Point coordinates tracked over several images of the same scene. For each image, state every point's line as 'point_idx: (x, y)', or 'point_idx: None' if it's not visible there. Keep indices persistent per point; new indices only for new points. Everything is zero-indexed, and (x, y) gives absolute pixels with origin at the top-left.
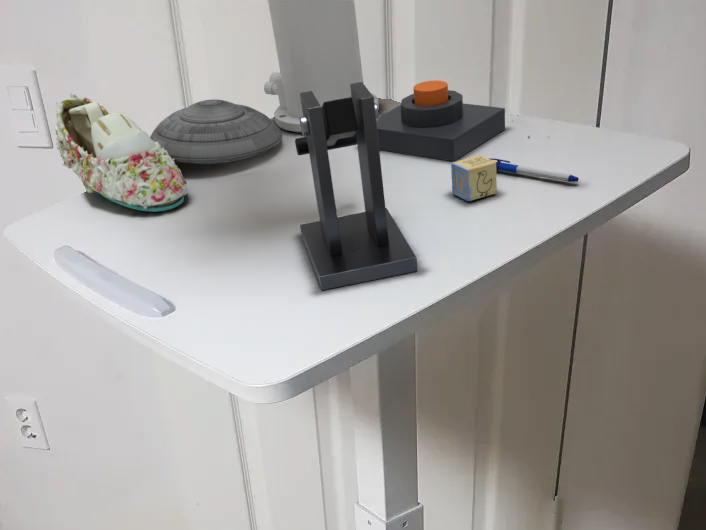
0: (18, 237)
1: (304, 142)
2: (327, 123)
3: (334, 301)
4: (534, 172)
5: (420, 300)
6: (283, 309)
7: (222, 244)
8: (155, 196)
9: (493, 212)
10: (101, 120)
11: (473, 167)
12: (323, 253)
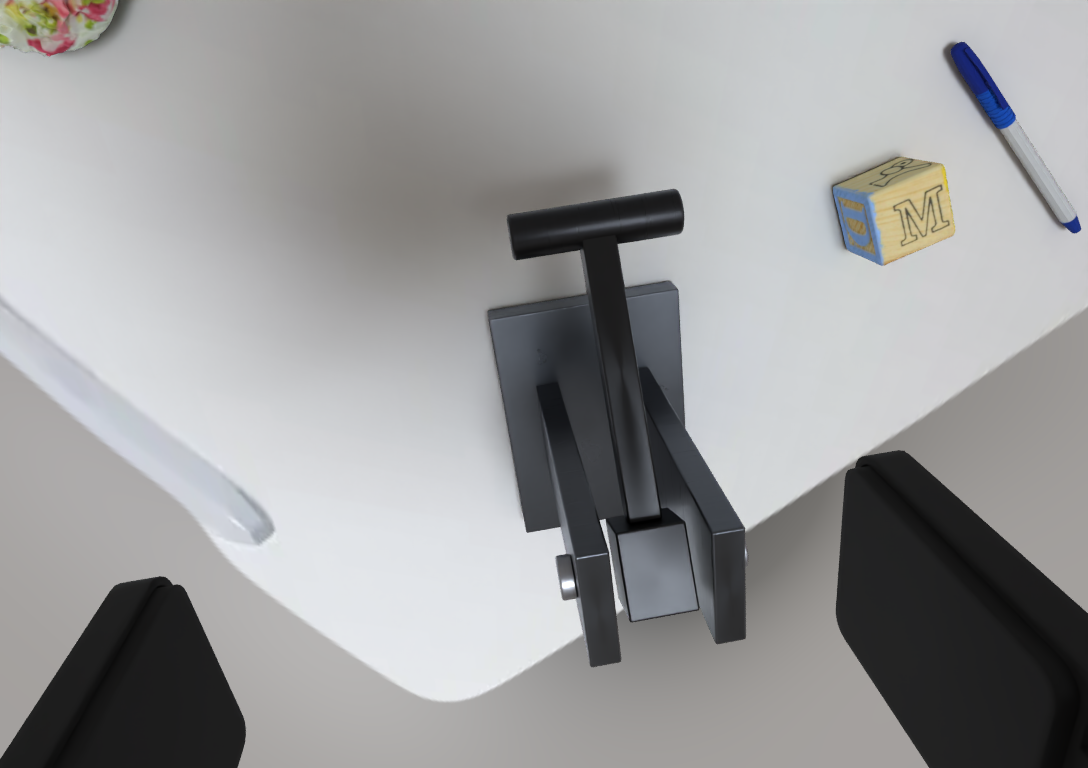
0: None
1: (536, 253)
2: (621, 601)
3: (543, 549)
4: (1025, 163)
5: None
6: (463, 557)
7: (308, 294)
8: (43, 49)
9: (871, 304)
10: None
11: (900, 253)
12: (535, 457)
